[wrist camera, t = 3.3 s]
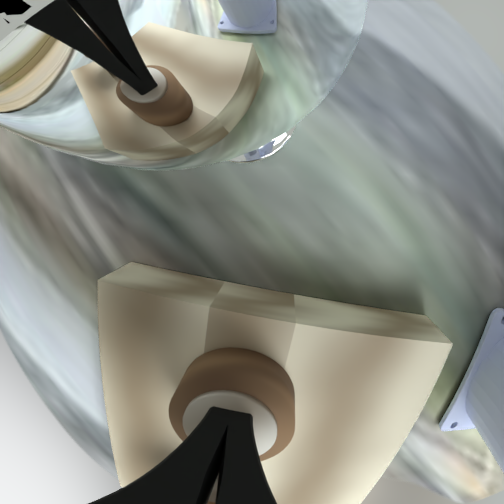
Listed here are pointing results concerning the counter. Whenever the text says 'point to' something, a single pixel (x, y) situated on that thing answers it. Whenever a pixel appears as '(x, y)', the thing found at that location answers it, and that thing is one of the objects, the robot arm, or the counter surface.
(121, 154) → the wineglass
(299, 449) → the knob panel
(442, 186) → the counter surface
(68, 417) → the counter surface
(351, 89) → the counter surface
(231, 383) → the knob
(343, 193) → the counter surface
